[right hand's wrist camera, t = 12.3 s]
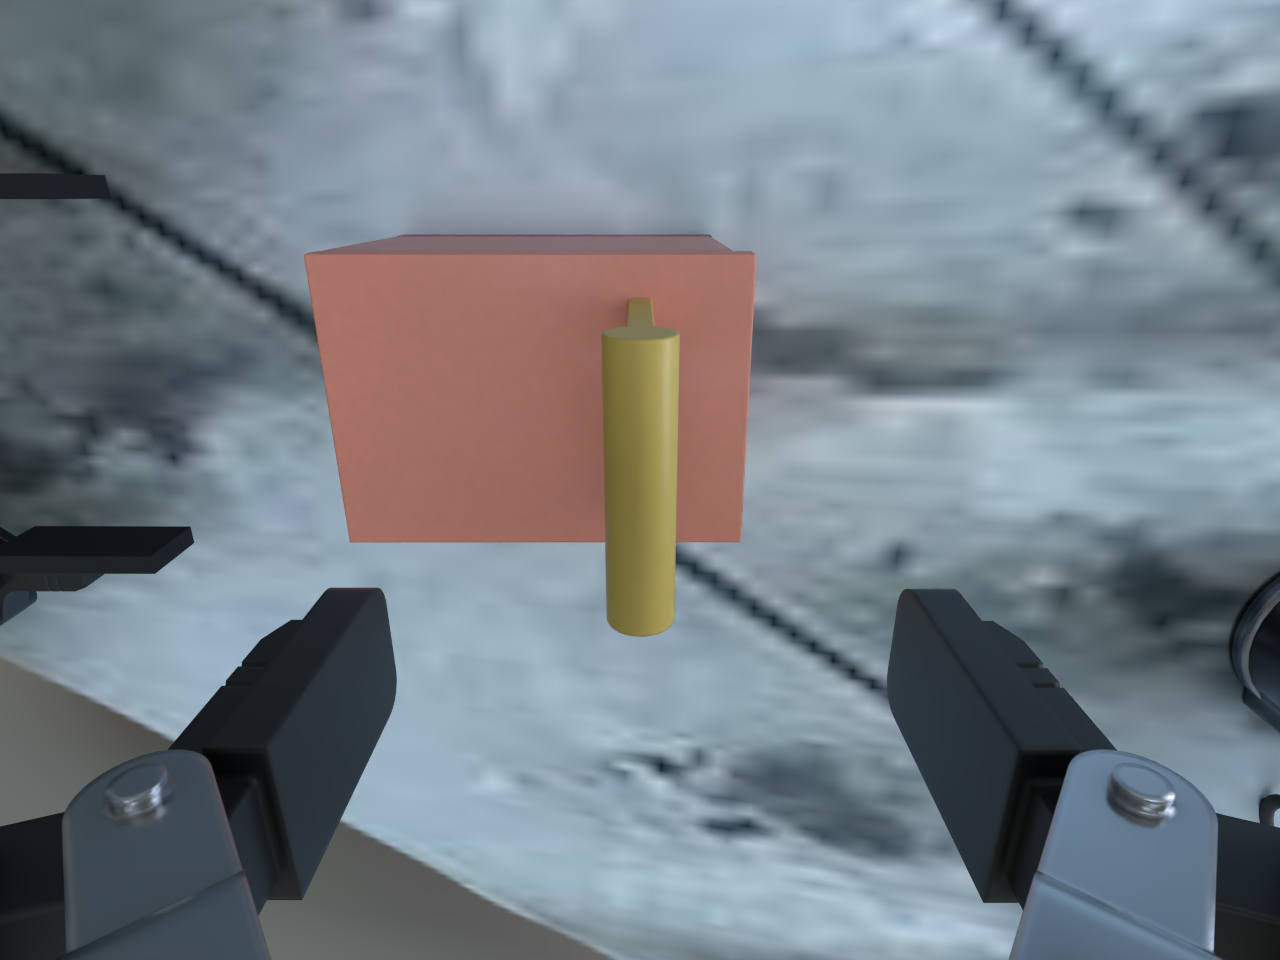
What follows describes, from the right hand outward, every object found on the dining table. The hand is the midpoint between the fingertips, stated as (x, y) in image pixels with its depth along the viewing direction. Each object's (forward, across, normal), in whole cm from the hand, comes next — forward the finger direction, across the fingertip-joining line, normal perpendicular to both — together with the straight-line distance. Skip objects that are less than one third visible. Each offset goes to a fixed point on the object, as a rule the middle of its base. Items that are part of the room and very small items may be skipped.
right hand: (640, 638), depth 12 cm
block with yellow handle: (+14, +3, 0) cm, 14 cm away
